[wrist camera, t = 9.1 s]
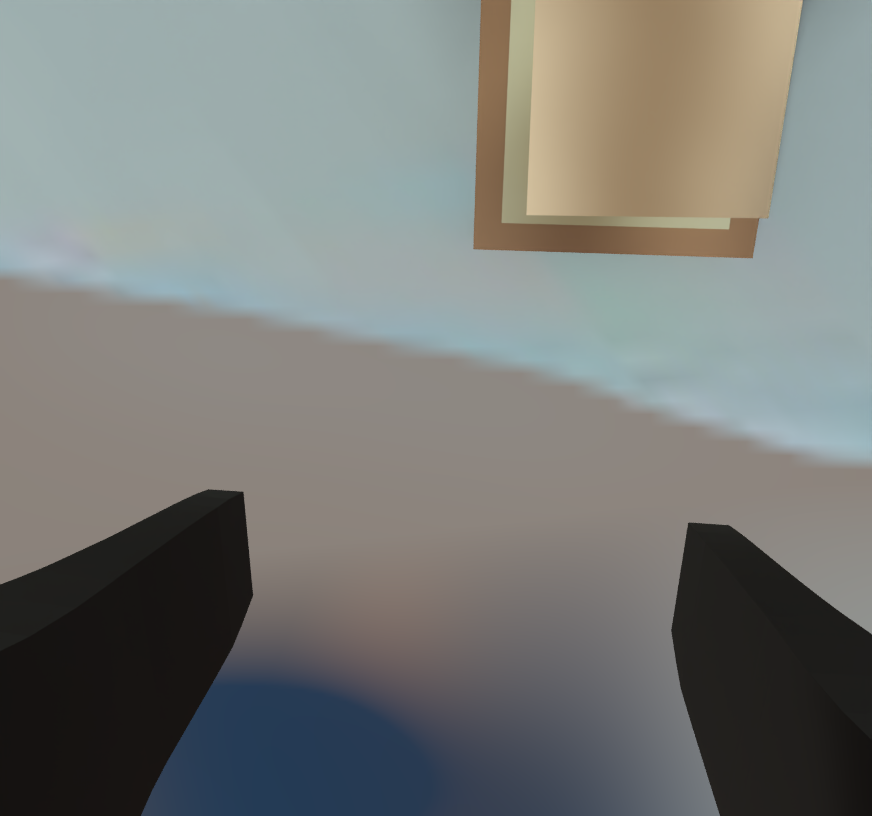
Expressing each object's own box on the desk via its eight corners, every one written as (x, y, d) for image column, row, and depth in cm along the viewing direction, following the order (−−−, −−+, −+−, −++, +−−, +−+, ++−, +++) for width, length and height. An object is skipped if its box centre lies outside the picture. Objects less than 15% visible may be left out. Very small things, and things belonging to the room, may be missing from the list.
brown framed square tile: (789, -56, 17) (808, -69, 16) (739, 250, 20) (753, 258, 18) (486, -53, 18) (483, -65, 17) (476, 241, 20) (473, 249, 19)
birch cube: (740, -16, 16) (812, -61, 12) (713, 195, 18) (768, 218, 14) (535, -12, 17) (537, -54, 13) (527, 193, 19) (526, 215, 14)
